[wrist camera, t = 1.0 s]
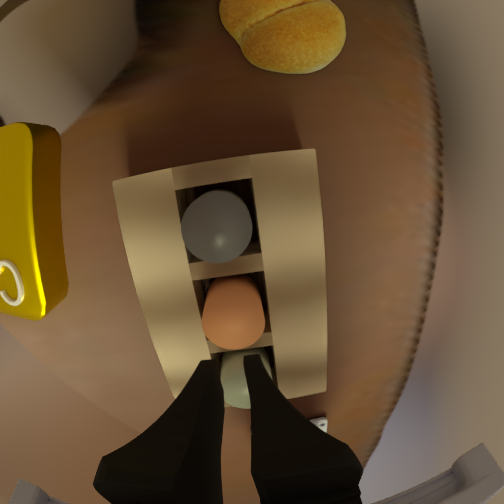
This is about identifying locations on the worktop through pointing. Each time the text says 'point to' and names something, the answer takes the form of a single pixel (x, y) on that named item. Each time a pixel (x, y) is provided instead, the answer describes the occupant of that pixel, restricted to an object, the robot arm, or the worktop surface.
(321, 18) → the bread roll
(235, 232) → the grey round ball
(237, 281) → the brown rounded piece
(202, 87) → the worktop surface
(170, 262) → the button panel
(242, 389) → the sage button
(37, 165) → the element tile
